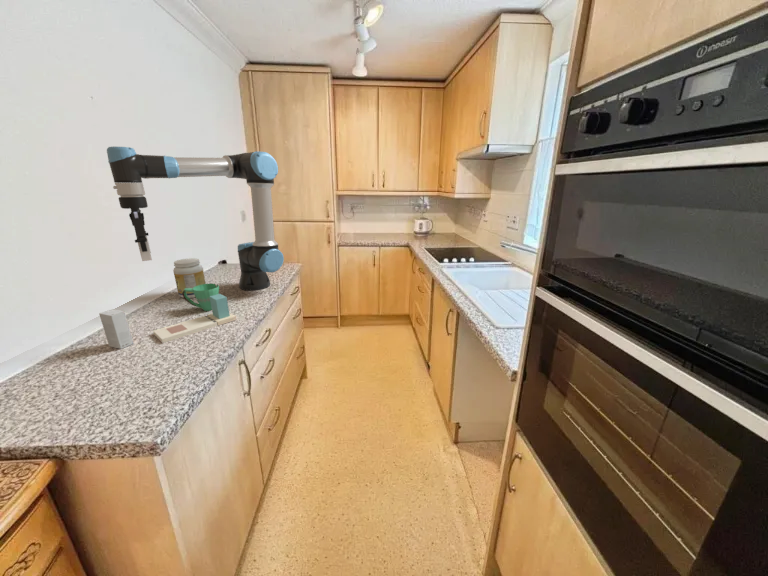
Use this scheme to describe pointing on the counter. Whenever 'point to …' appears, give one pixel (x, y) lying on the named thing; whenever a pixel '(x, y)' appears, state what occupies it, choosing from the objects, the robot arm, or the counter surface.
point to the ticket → (184, 328)
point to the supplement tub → (188, 275)
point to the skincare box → (116, 328)
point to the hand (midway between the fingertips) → (146, 256)
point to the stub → (220, 310)
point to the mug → (202, 295)
